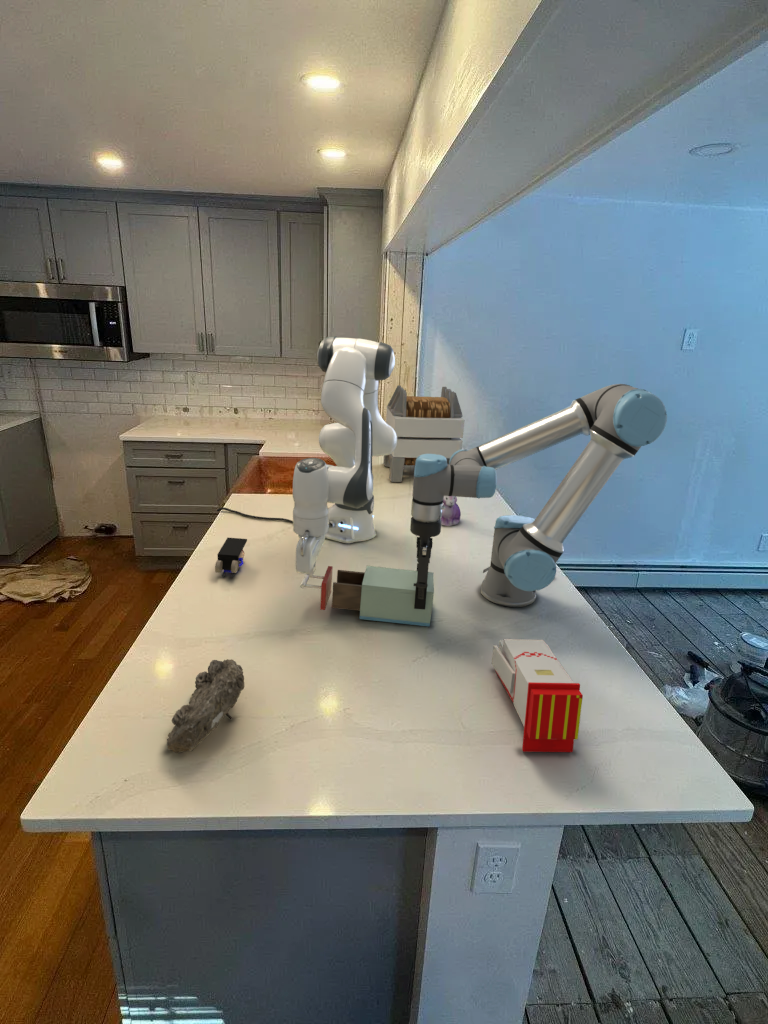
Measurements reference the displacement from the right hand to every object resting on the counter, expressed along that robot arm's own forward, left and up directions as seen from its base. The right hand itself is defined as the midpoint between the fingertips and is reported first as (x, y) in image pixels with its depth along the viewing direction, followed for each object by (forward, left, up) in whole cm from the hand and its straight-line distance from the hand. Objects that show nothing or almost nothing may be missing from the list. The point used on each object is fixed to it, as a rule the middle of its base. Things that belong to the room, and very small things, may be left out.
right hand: (420, 597), depth 146 cm
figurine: (-40, -58, -5) cm, 71 cm away
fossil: (+54, +23, -5) cm, 59 cm away
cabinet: (+5, -3, -5) cm, 8 cm away
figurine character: (+42, -40, -5) cm, 58 cm away
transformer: (-58, -122, -5) cm, 135 cm away
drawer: (+18, -9, -3) cm, 20 cm away
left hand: (+25, -13, +4) cm, 29 cm away
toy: (-6, +39, -5) cm, 40 cm away
